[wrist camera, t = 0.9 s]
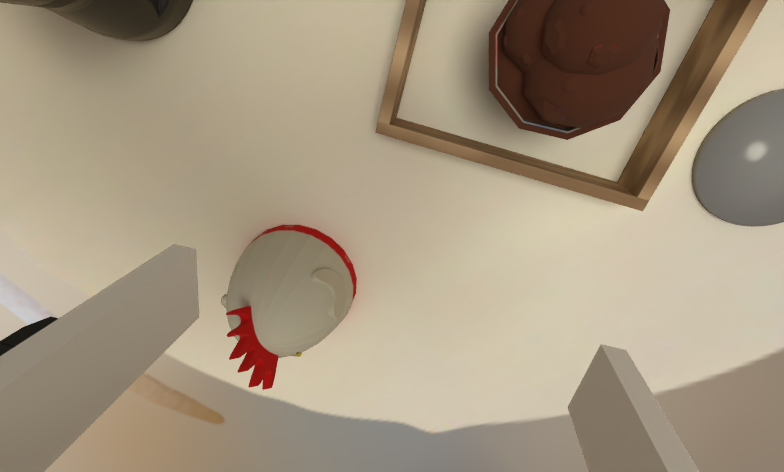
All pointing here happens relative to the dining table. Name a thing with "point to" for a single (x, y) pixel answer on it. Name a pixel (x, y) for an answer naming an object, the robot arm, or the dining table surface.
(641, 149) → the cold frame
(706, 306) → the dining table surface
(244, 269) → the kitchen timer
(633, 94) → the ice cream bowl
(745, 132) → the coaster
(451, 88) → the dining table surface
